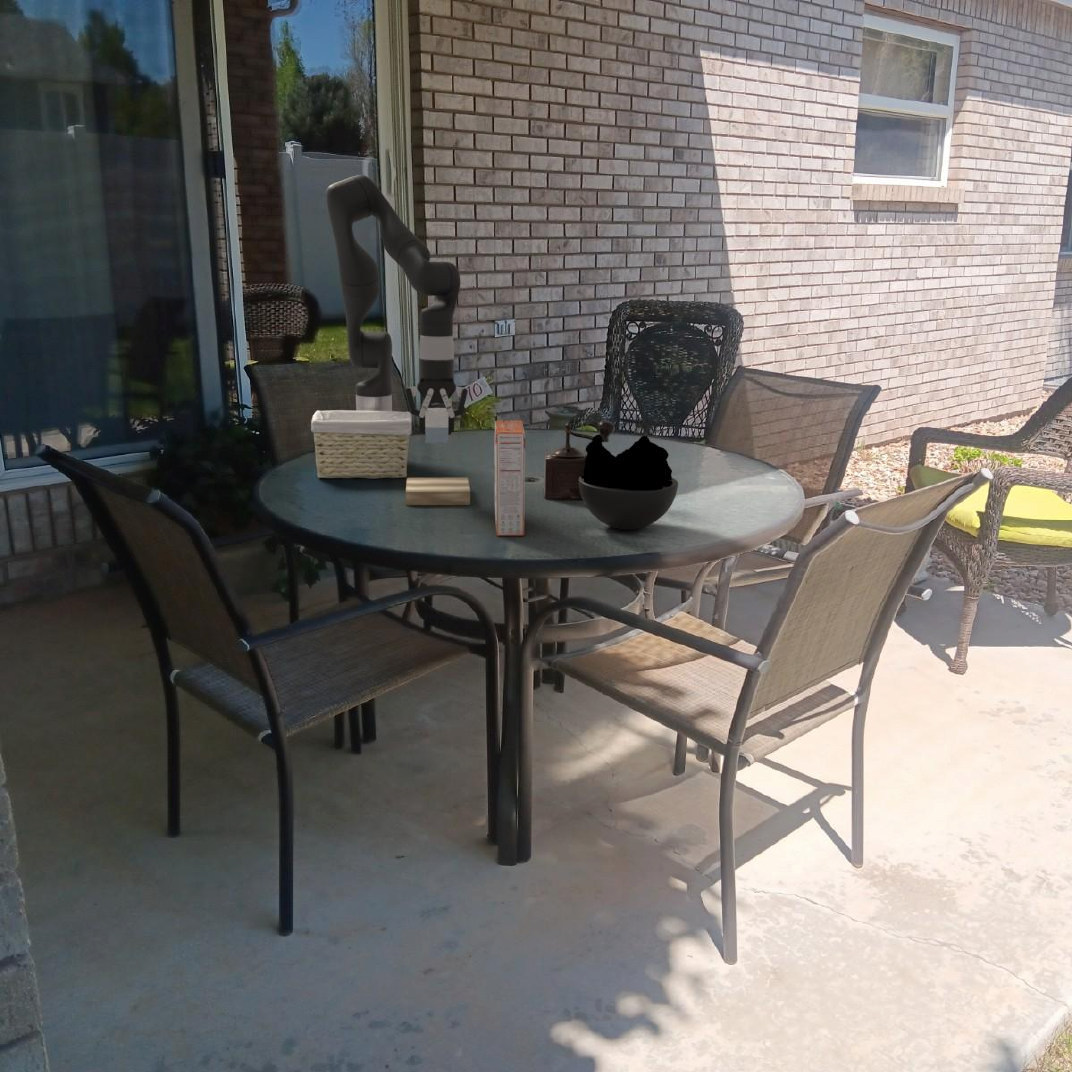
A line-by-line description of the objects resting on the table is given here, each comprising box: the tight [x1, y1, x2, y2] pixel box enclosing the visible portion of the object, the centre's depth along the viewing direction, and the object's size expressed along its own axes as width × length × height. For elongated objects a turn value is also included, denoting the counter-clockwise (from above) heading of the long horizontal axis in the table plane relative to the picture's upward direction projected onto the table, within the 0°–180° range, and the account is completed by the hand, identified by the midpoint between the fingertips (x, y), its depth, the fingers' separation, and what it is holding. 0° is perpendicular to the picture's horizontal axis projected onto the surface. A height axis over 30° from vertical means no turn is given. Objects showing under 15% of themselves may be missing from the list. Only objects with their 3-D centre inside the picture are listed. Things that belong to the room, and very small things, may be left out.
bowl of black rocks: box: [579, 434, 679, 531], centre depth 206 cm, size 20×20×19 cm
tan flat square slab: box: [405, 477, 471, 506], centre depth 230 cm, size 14×14×3 cm
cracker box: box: [493, 419, 526, 537], centre depth 204 cm, size 14×6×21 cm, turn 3°
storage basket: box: [310, 409, 413, 480], centre depth 251 cm, size 24×16×15 cm
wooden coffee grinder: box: [542, 419, 616, 501], centre depth 233 cm, size 16×11×18 cm
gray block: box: [424, 407, 449, 444], centre depth 226 cm, size 5×6×7 cm
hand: (436, 433), depth 226 cm, fingers closed on gray block, 5 cm apart
